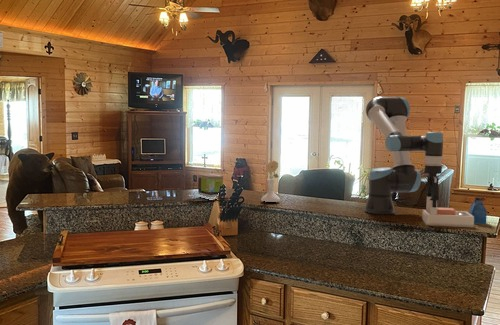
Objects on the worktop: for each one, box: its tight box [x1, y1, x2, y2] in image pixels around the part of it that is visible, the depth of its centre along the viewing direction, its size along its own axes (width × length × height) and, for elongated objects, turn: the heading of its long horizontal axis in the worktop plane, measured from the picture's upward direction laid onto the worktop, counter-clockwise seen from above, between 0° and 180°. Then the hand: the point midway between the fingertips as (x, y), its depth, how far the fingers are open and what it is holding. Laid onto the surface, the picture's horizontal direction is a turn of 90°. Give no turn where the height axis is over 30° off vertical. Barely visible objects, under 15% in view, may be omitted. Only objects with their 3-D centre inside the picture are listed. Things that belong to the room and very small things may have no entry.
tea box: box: [197, 173, 224, 197], centre depth 289 cm, size 15×10×15 cm, turn 32°
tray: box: [422, 209, 475, 228], centre depth 222 cm, size 13×20×5 cm, turn 79°
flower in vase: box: [260, 160, 281, 203], centre depth 275 cm, size 13×11×25 cm
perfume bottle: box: [468, 196, 488, 225], centre depth 225 cm, size 6×6×12 cm
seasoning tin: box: [434, 206, 457, 215], centre depth 222 cm, size 6×6×8 cm
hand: (431, 212), depth 223 cm, fingers open, 9 cm apart
